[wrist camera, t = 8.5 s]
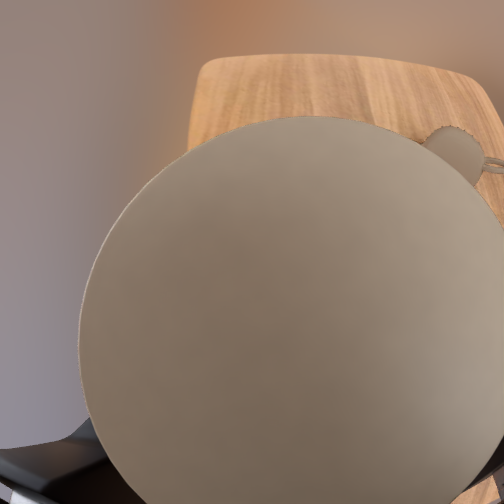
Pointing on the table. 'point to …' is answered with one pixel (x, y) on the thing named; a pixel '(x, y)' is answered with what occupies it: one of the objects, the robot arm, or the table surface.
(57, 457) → the robot arm
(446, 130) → the beige curved piece
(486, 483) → the table surface
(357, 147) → the brown lidded canister
